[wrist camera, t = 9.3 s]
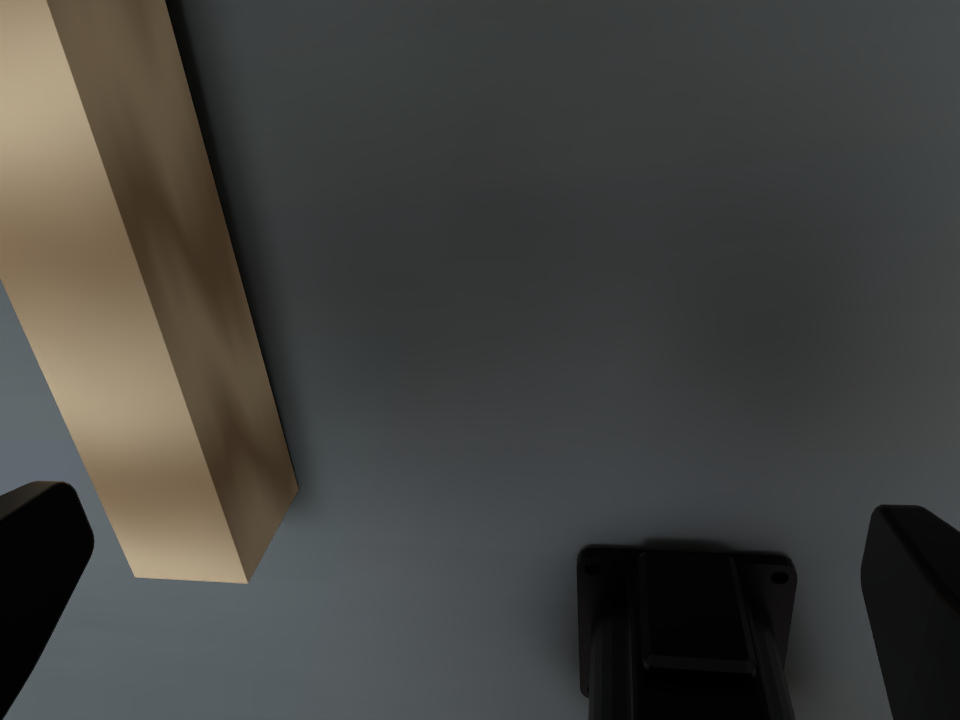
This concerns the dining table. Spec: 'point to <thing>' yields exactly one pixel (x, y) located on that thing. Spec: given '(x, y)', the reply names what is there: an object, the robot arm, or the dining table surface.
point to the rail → (135, 287)
